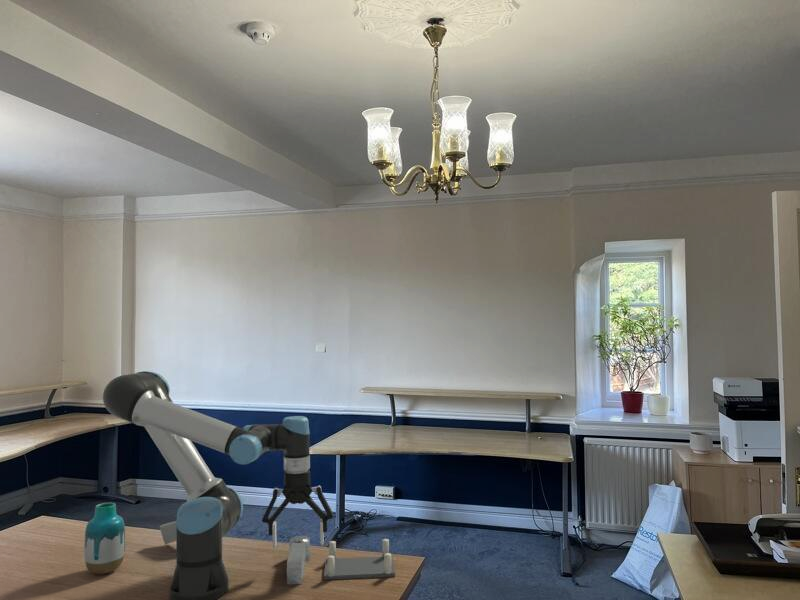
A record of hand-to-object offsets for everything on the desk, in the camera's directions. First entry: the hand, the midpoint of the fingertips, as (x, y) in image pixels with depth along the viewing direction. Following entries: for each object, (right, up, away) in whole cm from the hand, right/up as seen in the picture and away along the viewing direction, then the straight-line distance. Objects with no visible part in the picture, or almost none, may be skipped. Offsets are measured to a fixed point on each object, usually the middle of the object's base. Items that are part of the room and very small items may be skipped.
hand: (298, 544), depth 168 cm
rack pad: (+18, -8, +1) cm, 19 cm away
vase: (-57, -9, +1) cm, 57 cm away
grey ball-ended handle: (-1, -8, +2) cm, 8 cm away
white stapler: (-47, -7, +21) cm, 52 cm away
